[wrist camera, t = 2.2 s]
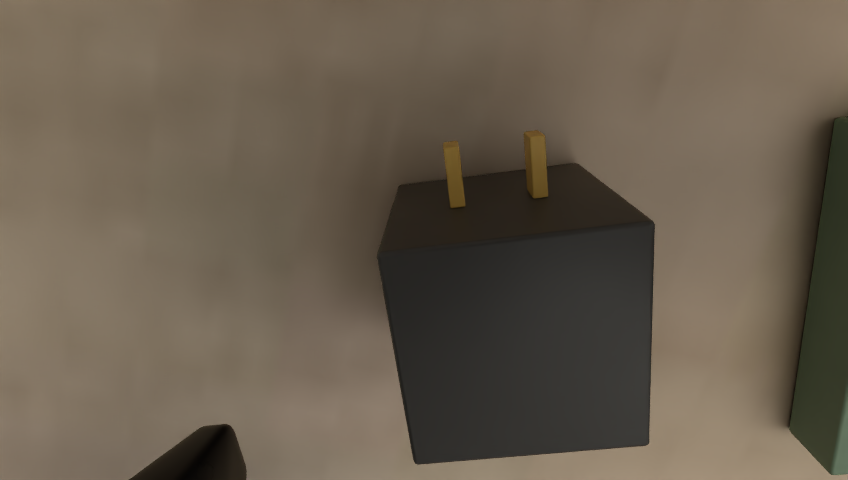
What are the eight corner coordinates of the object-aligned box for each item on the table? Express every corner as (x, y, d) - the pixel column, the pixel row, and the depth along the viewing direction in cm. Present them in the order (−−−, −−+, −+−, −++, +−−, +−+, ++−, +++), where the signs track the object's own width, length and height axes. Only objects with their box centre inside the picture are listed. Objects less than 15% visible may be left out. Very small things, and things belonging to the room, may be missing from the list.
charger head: (421, 338, 14) (414, 467, 9) (390, 136, 12) (362, 180, 8) (582, 321, 13) (650, 447, 9) (576, 111, 12) (659, 143, 7)
